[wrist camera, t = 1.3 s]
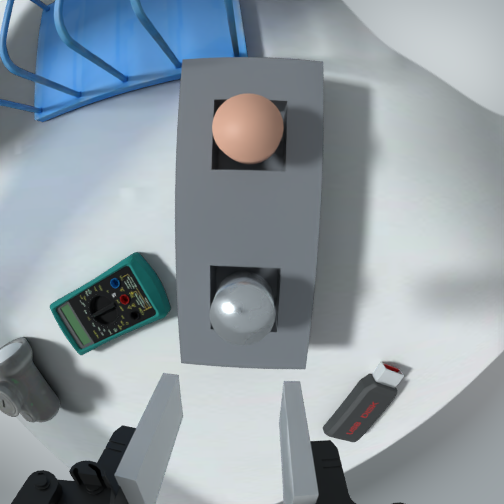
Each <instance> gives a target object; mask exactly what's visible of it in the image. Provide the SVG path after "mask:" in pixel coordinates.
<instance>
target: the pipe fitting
mask: <svg viewBox="0 0 504 504" xmlns="http://www.w3.org/2000/svg"><path fill="white" fill-rule="evenodd" d="M59 407H60V400H59V398H58V397H57V395H56V394H55V393H54V391H53V390H52V389H51V387H50V386H49V385H48V383H47V382H46V381H45V379H44V378H43V376H42V375H41V373H40V372H39V371H38V369H37V368H36V366H35V365H34V363H33V362H32V348H31V346H30V345H29V343H28V341H27V340H26V338H24V337H21V338H17V339H15V340H13V341H11V342H9V343H7V344H6V345H4V346H3V347H1V348H0V410H1V411H2V412H3V413H5V414H7V415H9V416H11V417H16V416H18V415H19V413H20V414H21V415H22V416H23V417H24V418H25V419H26V420H27V421H29V422H36V421H37V422H46V421H49V420H50V419H52V418H53V417H54V416H55V415H56V414H57V412H58V410H59Z"/></svg>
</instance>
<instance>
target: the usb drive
mask: <svg viewBox="0 0 504 504" xmlns="http://www.w3.org/2000/svg"><path fill="white" fill-rule="evenodd" d="M403 377H404V374H403V373H402V371H401V370H400V369H399V368H396V367H394V366H391V365H388V364H386V363H383V362H380V363H379V365H378V366H377V368H376V369H375V370H374V372H373V373H372V374H368V375H367V376H365V377H364V378H362V379H361V380H360V381H359V382H358V383H357V385H356V386H355V388H354V389H353V390H352V391H351V393H350V394H349V395H348V397H347V398H346V399H345V401H344V402H343V403H342V404H341V406H340V407H339V408H338V409H337V411H336V412H335V413H334V414H333V415H332V417H331V418H330V419H329V420H328V422H327V423H326V424H325V425H324V426H323V430H324V433H325V434H326V435H328V436H329V437H333V438H337V439H342V440H346V441H350V442H356V441H358V440H359V439H360V438H361V437H362V436H363V435H364V434H365V433H366V431H367V430H368V429H369V428H370V427H371V426H372V425H373V424H374V422H375V421H376V420H377V419H378V418H379V417H380V415H381V414H382V413H383V412H384V411H385V409H386V408H387V407H388V406H389V405H390V403H391V402H392V401H393V400H394V398H395V396H396V394H397V388H396V386H397V385H398V384H399V382H400V381H401V380H402V378H403Z"/></svg>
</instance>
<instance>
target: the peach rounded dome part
mask: <svg viewBox="0 0 504 504" xmlns="http://www.w3.org/2000/svg"><path fill="white" fill-rule="evenodd" d="M283 128H284V127H283V119H282V116H281V113H280V111H279V110H278V108H277V107H276V106H275V105H274V104H273V103H272V102H271V101H270V100H268V99H267V98H265V97H263V96H260V95H257V94H250V93H247V94H239V95H236V96H234V97H231V98H230V99H228V100H226V101H225V102H224V103H223V104H222V105H221V106H220V107H219V108H218V110H217V112H216V113H215V116H214V119H213V123H212V132H213V136H214V140H215V142H216V144H217V145H218V147H219V148H220V149H221V150H222V151H223V152H224V153H225V154H226V155H228V156H229V157H230V158H231V159H233V160H234V161H236V162H239V163H242V164H257V163H261V162H263V161H265V160H267V159H268V158H269V157H271V156H272V155H273V154H274V152H275V151H276V149H277V147H278V145H279V143H280V141H281V138H282V135H283Z"/></svg>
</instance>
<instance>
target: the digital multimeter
mask: <svg viewBox="0 0 504 504" xmlns="http://www.w3.org/2000/svg"><path fill="white" fill-rule="evenodd" d="M114 272H115V273H114ZM50 309H51V311H52V313H53V315H54V317H55V319H56V321H57V323H58V325H59V327H60V328H61V330H62V332H63V333H64V335H65V336H66V338H67V339H68V341H69V342H70V343H71V345H72V346H73V347H74V349H75V350H76V351H77V353H78V354H80V355H83V354H85V353H87V352H89V351H91V350H93V349H95V348H97V347H98V346H100V345H102V344H104V343H106V342H108V341H110V340H113V339H115V338H117V337H119V336H121V335H123V334H125V333H128V332H130V331H133V330H135V329H137V328H140V327H142V326H144V325H147V324H149V323H152V322H154V321H157V320H159V319H162V318H164V317H166V315H167V314H168V312H169V311H170V309H171V307H170V304H169V301H168V298H167V295H166V292H165V290H164V288H163V285H162V283H161V281H160V279H159V278H158V276H157V274H156V273H155V271H154V270H153V269H152V268H151V266H150V265H149V264H148V263H147V261H146V260H145V259H144V258H143V257H142V256H141V255H140V254H139V253H138V252H135V253H133V254H131V255H130V256H128V257H127V258H125V259H124V260H122V261H121V262H119V263H118V264H116V265H115V266H113V267H112V268H110V269H109V270H107V271H106V272H104V273H103V274H101V275H99V276H98V277H96V278H95V279H93V280H92V281H90V282H88V283H86V284H85V285H83V286H81V287H80V288H78V289H76V290H74V291H73V292H71V293H69V294H67V295H65V296H64V297H62V298H60V299H58V300H57V301H55V302H53V303H52V304H51V305H50ZM91 316H92V317H91ZM94 320H95V321H96V322H95V321H94Z"/></svg>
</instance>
